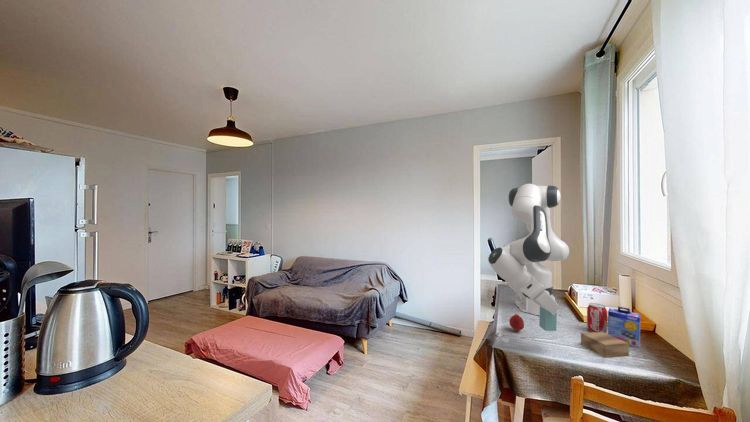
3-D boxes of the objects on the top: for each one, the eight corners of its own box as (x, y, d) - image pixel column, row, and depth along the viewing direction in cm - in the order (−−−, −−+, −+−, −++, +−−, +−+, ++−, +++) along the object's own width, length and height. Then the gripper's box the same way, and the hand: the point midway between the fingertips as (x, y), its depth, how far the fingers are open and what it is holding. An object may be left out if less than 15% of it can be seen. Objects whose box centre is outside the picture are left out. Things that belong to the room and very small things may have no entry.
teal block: (539, 326, 106) (539, 300, 106) (550, 326, 106) (550, 300, 106) (545, 330, 102) (545, 304, 102) (556, 331, 102) (556, 304, 102)
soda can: (611, 336, 118) (611, 308, 118) (592, 334, 119) (592, 307, 119) (601, 329, 125) (601, 303, 125) (583, 328, 126) (583, 301, 126)
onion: (523, 330, 123) (523, 312, 123) (524, 335, 118) (524, 316, 118) (509, 327, 126) (509, 310, 126) (509, 332, 120) (509, 314, 120)
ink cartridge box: (607, 339, 115) (607, 305, 115) (608, 335, 118) (608, 302, 119) (640, 348, 107) (640, 311, 108) (640, 343, 111) (640, 308, 111)
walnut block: (580, 345, 110) (581, 333, 110) (602, 344, 111) (602, 331, 111) (605, 358, 100) (605, 344, 100) (628, 356, 101) (628, 343, 101)
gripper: (506, 282, 115) (529, 306, 114) (531, 298, 94) (560, 327, 94) (517, 272, 115) (540, 295, 114) (544, 286, 94) (573, 315, 94)
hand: (549, 310), depth 104 cm, fingers closed on teal block, 4 cm apart
